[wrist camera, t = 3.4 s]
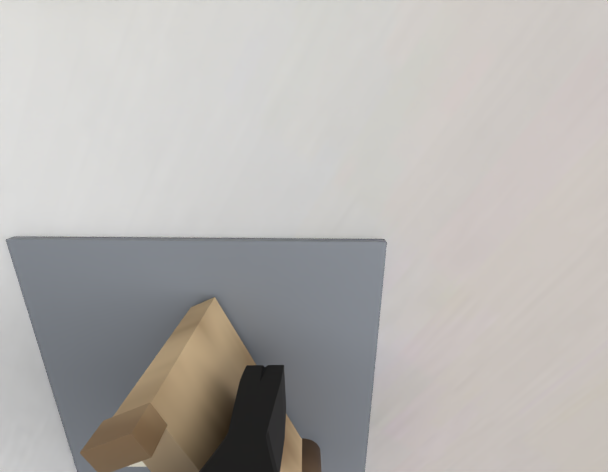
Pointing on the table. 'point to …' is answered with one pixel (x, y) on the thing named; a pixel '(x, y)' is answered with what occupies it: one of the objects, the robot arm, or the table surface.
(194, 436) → the fence panel
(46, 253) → the card
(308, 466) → the fence fixed section
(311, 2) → the table surface
